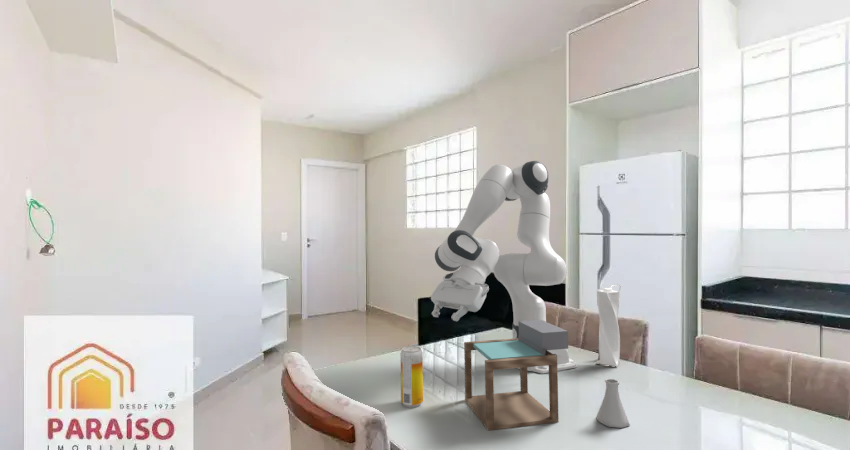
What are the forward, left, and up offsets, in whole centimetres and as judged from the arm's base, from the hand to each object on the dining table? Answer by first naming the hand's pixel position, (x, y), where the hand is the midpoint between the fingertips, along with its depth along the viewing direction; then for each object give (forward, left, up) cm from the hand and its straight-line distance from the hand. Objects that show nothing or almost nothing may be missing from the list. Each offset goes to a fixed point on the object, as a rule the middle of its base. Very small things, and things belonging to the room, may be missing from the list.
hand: (443, 317), depth 121 cm
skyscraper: (-62, -9, -22) cm, 66 cm away
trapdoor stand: (-13, +17, -21) cm, 30 cm away
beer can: (+11, +7, -22) cm, 25 cm away
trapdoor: (-16, +17, -6) cm, 24 cm away
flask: (-35, +29, -22) cm, 50 cm away
